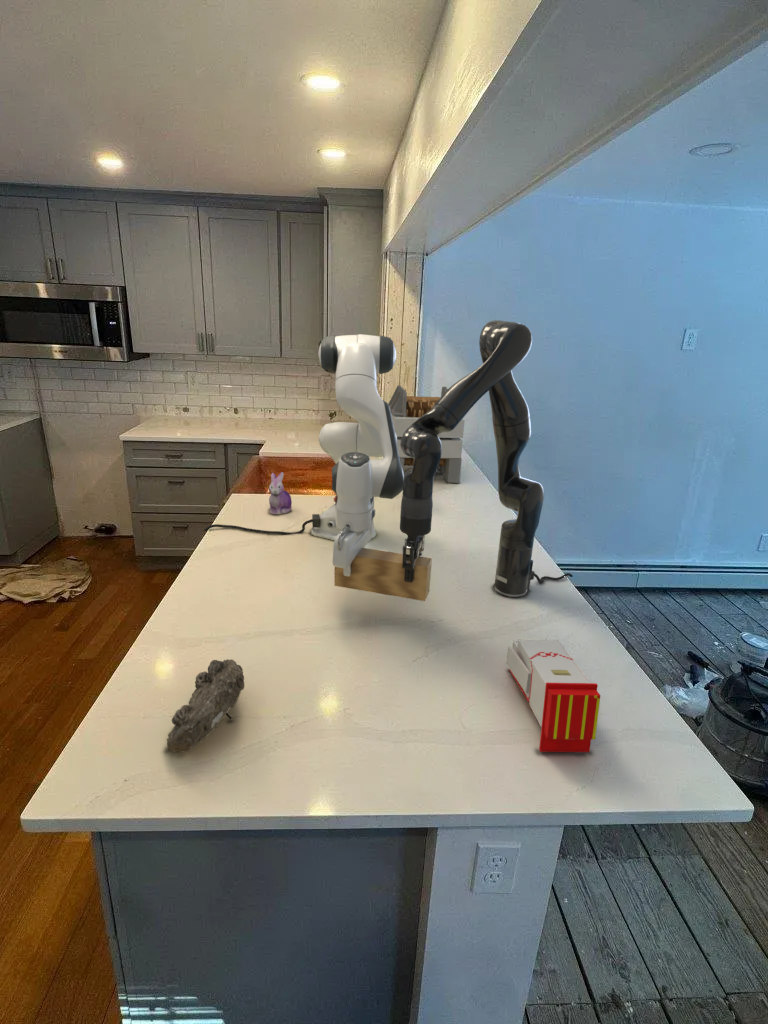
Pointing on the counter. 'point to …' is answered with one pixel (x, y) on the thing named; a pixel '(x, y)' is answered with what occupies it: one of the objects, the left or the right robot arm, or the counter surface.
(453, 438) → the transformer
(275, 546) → the counter surface
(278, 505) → the figurine
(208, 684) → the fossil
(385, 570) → the bar
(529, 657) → the toy
